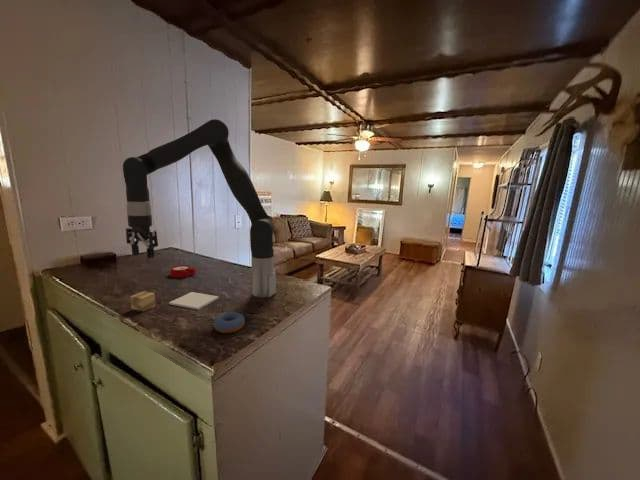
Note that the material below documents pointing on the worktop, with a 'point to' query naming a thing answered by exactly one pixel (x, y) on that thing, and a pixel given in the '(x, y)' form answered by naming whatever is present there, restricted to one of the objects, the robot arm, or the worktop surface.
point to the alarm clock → (182, 271)
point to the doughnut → (229, 322)
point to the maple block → (143, 301)
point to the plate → (194, 300)
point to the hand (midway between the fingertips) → (143, 256)
